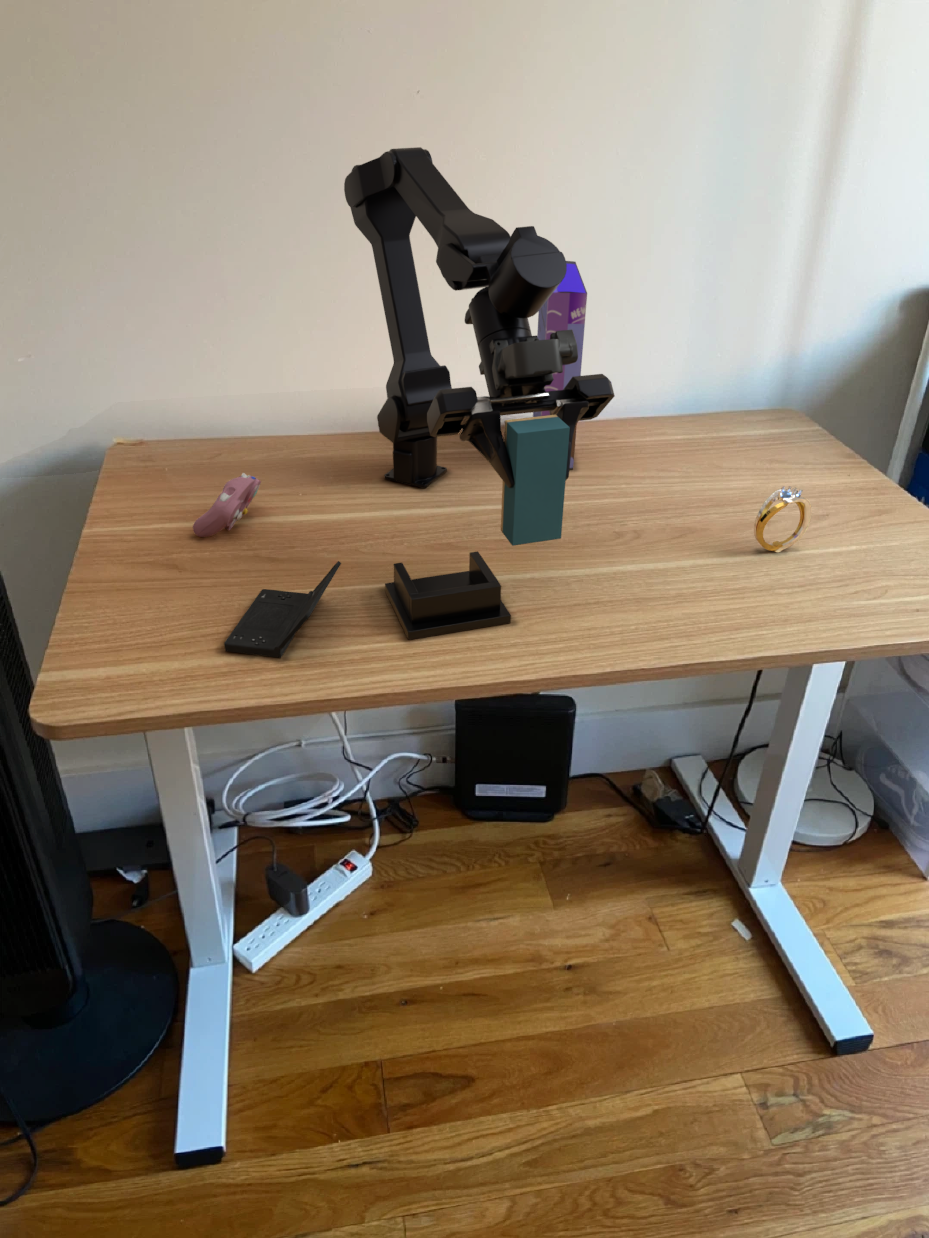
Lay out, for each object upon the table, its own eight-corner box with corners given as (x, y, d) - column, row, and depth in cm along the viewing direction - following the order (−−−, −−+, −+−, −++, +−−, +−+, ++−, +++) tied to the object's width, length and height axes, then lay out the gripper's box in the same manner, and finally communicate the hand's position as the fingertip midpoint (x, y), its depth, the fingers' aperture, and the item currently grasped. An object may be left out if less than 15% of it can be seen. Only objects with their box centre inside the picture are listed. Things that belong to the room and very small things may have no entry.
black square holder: (384, 591, 104) (383, 559, 101) (480, 576, 106) (481, 545, 104) (408, 640, 96) (407, 606, 93) (510, 623, 98) (512, 590, 96)
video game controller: (222, 553, 113) (240, 508, 109) (187, 534, 113) (205, 489, 109) (253, 516, 122) (272, 474, 118) (221, 499, 121) (239, 455, 117)
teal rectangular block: (500, 530, 101) (504, 420, 94) (548, 523, 103) (555, 414, 96) (512, 546, 98) (517, 433, 92) (561, 538, 100) (569, 427, 93)
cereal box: (573, 469, 131) (587, 291, 118) (538, 468, 131) (549, 291, 118) (563, 423, 146) (575, 260, 133) (532, 422, 146) (541, 259, 133)
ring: (795, 541, 114) (809, 480, 110) (809, 553, 112) (824, 491, 107) (743, 547, 113) (754, 486, 108) (756, 560, 110) (769, 498, 106)
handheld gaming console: (241, 582, 101) (290, 523, 96) (298, 615, 104) (349, 559, 99) (217, 656, 93) (269, 595, 87) (280, 689, 95) (334, 633, 90)
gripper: (434, 307, 88) (469, 464, 86) (616, 294, 93) (654, 441, 91) (413, 364, 99) (443, 505, 96) (577, 349, 104) (611, 483, 101)
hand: (538, 483), depth 96 cm, fingers closed on teal rectangular block, 5 cm apart
